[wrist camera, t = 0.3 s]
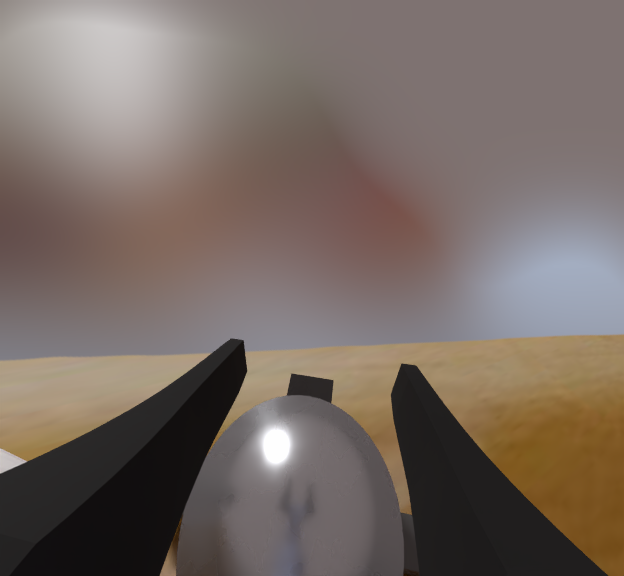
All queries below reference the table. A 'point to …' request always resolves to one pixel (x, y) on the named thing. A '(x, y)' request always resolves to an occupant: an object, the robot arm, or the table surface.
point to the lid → (293, 495)
